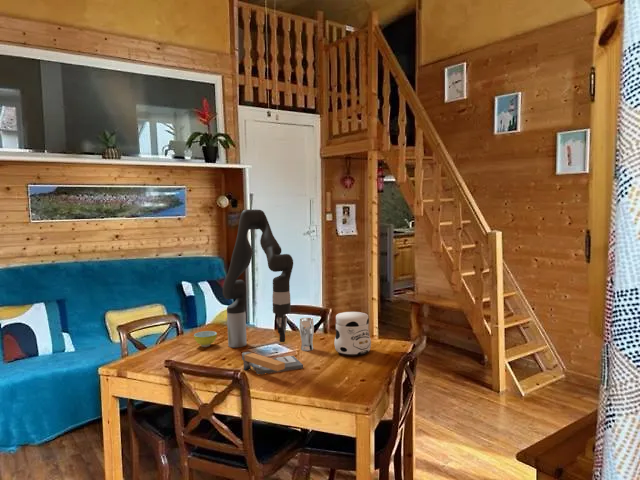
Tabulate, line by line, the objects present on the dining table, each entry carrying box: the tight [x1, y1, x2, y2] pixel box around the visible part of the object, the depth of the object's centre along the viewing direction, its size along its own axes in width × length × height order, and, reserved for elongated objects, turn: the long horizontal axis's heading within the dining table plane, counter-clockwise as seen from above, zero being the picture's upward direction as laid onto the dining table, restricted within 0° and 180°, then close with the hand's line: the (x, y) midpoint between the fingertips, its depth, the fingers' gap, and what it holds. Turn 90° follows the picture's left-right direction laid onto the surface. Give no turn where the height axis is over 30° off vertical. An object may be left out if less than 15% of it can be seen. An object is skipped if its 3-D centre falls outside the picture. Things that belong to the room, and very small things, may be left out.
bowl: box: [193, 330, 218, 348], centre depth 246 cm, size 11×12×6 cm
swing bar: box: [241, 351, 285, 371], centre depth 202 cm, size 24×4×2 cm, turn 47°
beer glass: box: [299, 317, 315, 352], centre depth 235 cm, size 7×7×15 cm
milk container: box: [333, 311, 372, 357], centre depth 228 cm, size 17×17×18 cm
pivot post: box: [243, 360, 252, 371], centre depth 209 cm, size 3×3×4 cm
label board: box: [251, 355, 304, 375], centre depth 211 cm, size 14×20×2 cm
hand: (282, 341), depth 205 cm, fingers closed
